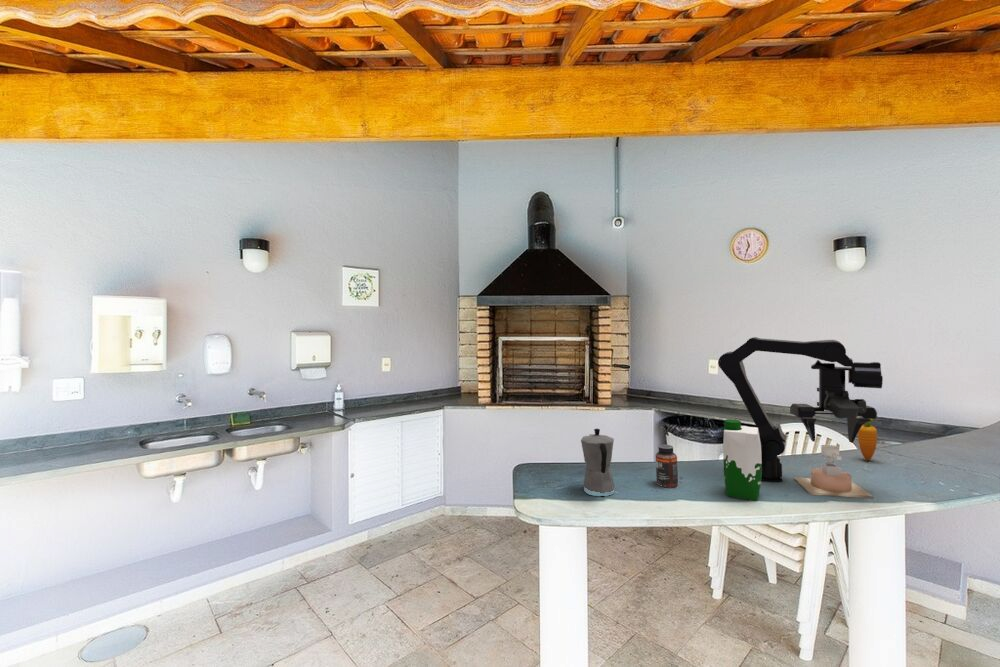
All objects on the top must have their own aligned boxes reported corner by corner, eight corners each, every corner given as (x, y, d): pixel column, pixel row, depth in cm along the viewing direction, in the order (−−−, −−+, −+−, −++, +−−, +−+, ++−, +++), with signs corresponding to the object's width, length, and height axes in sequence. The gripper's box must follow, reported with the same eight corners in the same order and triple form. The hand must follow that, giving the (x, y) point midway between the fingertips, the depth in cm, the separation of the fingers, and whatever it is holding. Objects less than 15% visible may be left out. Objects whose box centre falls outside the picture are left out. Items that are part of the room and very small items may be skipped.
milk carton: (725, 485, 124) (724, 416, 123) (762, 491, 119) (761, 419, 118) (722, 496, 116) (721, 423, 116) (762, 503, 112) (760, 426, 111)
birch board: (810, 494, 116) (810, 492, 116) (794, 479, 126) (793, 477, 126) (872, 498, 112) (872, 495, 112) (850, 482, 123) (850, 480, 123)
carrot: (881, 463, 136) (881, 416, 136) (863, 463, 137) (862, 416, 137) (871, 458, 141) (870, 413, 140) (854, 458, 142) (853, 413, 141)
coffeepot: (578, 482, 131) (576, 423, 130) (609, 481, 130) (607, 422, 130) (588, 504, 115) (586, 437, 115) (623, 503, 115) (621, 436, 114)
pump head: (830, 469, 115) (830, 452, 115) (818, 461, 122) (818, 444, 121) (848, 470, 114) (848, 452, 114) (835, 461, 121) (835, 444, 120)
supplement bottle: (678, 481, 128) (677, 444, 128) (677, 489, 123) (676, 450, 122) (657, 479, 131) (656, 442, 130) (655, 486, 125) (654, 448, 125)
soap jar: (819, 491, 116) (819, 469, 116) (805, 479, 125) (804, 459, 125) (858, 493, 114) (858, 471, 114) (841, 480, 122) (841, 460, 122)
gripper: (808, 390, 113) (808, 449, 113) (891, 391, 109) (891, 452, 109) (789, 383, 123) (789, 437, 124) (864, 384, 120) (864, 439, 120)
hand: (831, 441), depth 119 cm, fingers open, 9 cm apart
